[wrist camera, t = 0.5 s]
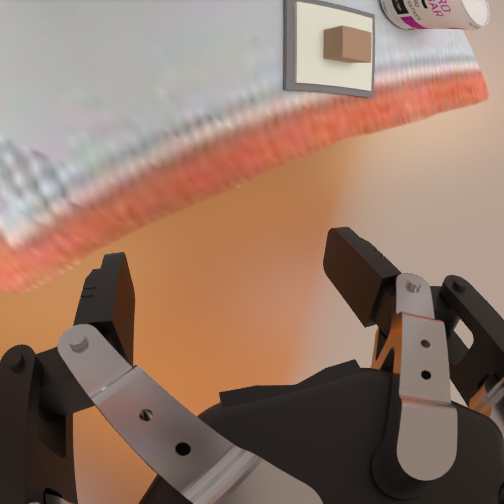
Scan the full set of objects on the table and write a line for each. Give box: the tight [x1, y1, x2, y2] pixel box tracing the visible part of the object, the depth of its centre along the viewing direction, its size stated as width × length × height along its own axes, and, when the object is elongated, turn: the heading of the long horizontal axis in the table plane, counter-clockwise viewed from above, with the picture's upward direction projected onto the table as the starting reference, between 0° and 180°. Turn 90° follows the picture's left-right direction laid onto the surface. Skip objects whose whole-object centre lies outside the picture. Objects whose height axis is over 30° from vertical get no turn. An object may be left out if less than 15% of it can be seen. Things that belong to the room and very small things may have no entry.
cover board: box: [294, 2, 373, 91], centre depth 28 cm, size 11×11×5 cm
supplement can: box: [380, 0, 490, 30], centre depth 22 cm, size 8×8×15 cm
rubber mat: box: [283, 0, 375, 98], centre depth 30 cm, size 13×13×1 cm
